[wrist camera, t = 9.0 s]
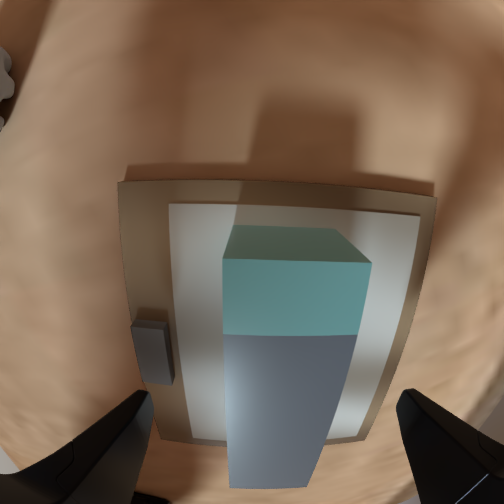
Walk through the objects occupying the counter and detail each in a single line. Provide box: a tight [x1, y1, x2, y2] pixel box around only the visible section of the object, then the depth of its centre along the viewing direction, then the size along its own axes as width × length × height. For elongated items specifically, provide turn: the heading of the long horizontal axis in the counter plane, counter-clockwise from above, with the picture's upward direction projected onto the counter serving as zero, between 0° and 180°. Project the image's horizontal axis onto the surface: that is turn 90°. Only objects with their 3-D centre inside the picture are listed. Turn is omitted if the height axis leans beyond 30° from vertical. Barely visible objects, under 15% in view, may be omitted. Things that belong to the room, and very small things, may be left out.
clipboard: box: [118, 179, 437, 447], centre depth 12 cm, size 14×12×1 cm
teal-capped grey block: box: [222, 225, 372, 489], centre depth 10 cm, size 11×4×4 cm, turn 178°
